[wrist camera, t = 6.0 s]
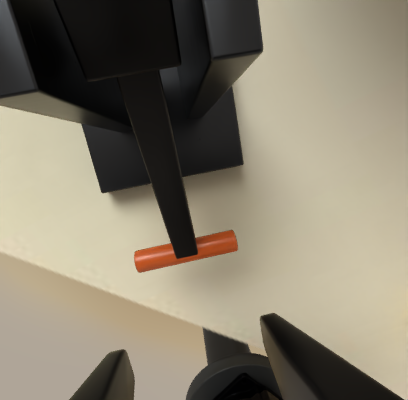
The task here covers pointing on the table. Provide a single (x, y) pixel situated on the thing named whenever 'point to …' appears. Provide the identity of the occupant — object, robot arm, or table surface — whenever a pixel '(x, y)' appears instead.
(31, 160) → the table surface
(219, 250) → the lever
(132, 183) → the bracket
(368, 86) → the table surface
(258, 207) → the table surface
